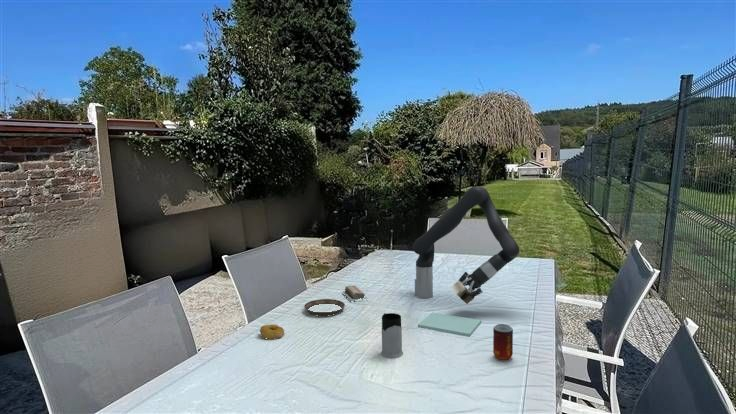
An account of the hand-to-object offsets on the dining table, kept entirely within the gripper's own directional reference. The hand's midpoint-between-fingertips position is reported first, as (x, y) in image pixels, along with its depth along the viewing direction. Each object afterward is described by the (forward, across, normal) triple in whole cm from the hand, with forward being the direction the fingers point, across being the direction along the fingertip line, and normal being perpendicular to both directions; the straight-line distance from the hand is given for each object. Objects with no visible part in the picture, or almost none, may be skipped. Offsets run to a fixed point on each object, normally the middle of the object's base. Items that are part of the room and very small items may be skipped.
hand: (458, 294), depth 212 cm
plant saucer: (+57, -26, -24) cm, 68 cm away
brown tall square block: (-2, 0, +7) cm, 7 cm away
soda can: (0, +46, -16) cm, 49 cm away
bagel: (+71, -8, -53) cm, 89 cm away
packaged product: (+47, -40, -3) cm, 62 cm away
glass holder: (+32, +24, -35) cm, 53 cm away
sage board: (+11, +13, -4) cm, 17 cm away
